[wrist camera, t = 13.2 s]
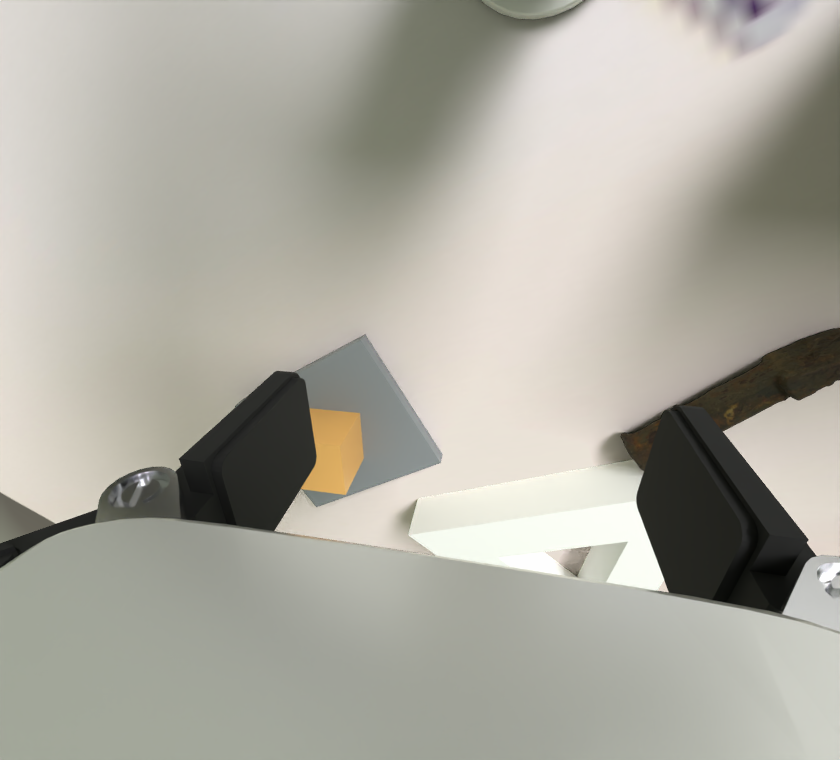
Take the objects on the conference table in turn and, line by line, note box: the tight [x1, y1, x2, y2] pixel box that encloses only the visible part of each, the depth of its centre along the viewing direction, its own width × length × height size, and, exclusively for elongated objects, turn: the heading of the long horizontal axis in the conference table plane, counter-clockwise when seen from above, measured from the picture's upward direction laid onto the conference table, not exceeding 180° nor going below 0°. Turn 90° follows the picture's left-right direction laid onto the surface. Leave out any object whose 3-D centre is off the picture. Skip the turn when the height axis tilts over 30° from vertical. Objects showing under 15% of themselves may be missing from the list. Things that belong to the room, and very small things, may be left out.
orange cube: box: [301, 408, 364, 495], centre depth 43 cm, size 6×6×6 cm
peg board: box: [235, 335, 442, 507], centre depth 45 cm, size 16×18×6 cm
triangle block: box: [408, 460, 664, 591], centre depth 48 cm, size 30×26×6 cm
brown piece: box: [621, 328, 840, 471], centre depth 36 cm, size 19×4×5 cm, turn 133°
